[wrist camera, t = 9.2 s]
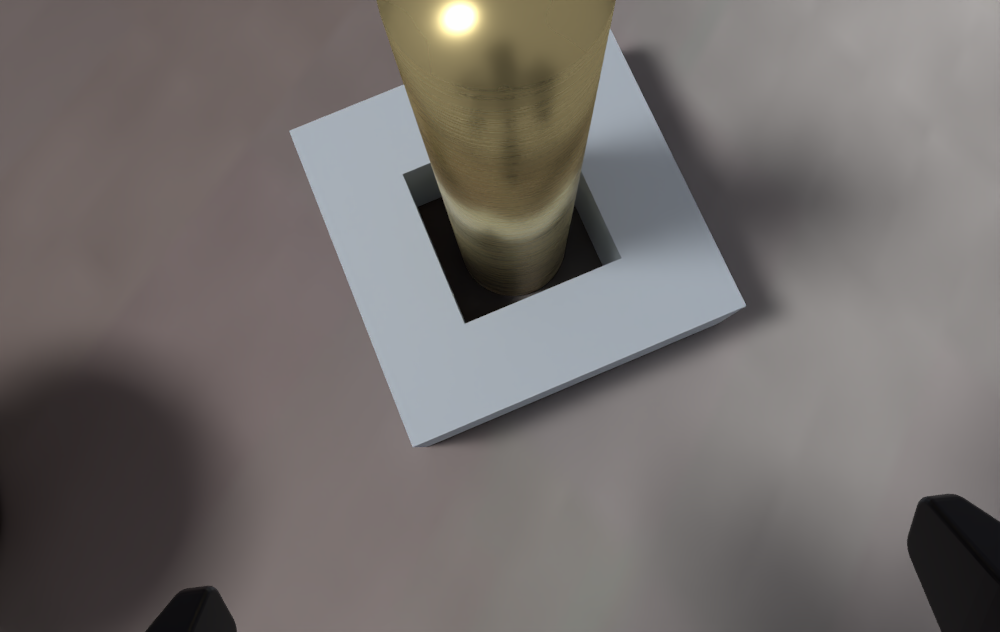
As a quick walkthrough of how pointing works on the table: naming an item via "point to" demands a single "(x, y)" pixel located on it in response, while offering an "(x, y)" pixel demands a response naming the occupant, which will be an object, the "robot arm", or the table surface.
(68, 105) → the table surface
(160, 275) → the table surface
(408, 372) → the socket block
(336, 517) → the table surface
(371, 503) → the table surface
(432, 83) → the pin
